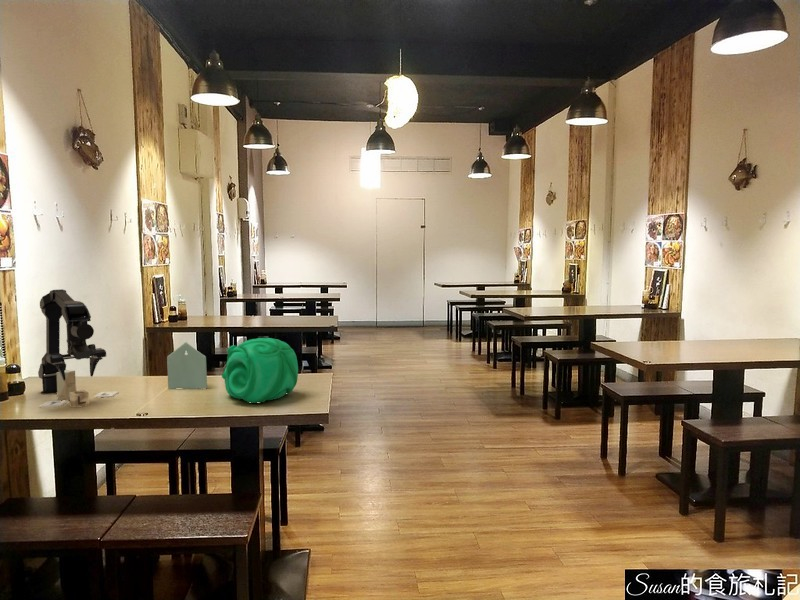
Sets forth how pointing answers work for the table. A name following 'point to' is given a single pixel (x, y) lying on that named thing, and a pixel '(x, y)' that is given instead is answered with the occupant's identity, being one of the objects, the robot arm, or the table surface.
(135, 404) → the table surface
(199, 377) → the house-shaped tag
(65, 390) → the box
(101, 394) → the pad
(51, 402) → the pad
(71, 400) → the letter cube
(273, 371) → the sculpture
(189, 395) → the table surface
